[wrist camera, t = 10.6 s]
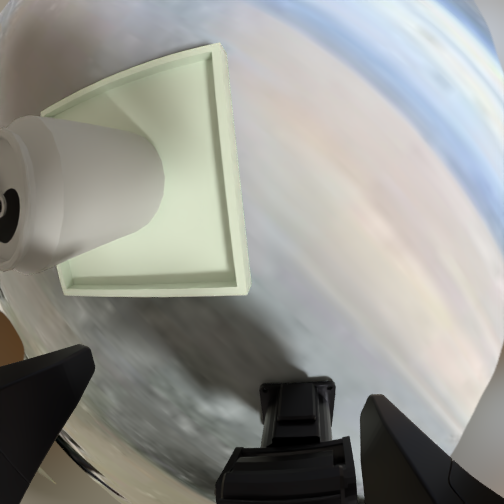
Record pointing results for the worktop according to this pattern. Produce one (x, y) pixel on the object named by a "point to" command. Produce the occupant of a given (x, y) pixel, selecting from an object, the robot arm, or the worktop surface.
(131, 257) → the tray
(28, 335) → the worktop surface
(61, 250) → the can
